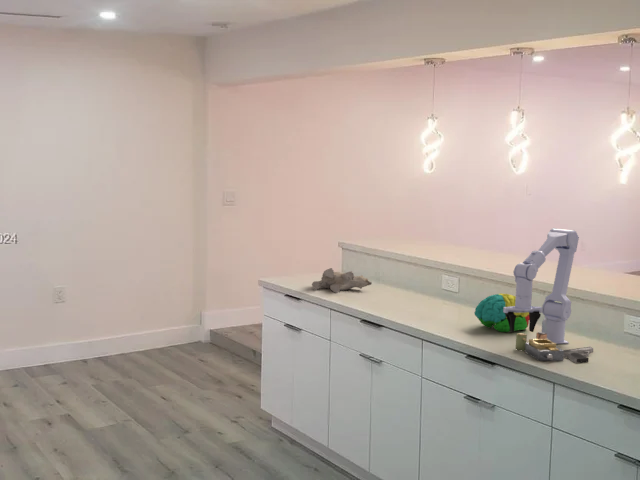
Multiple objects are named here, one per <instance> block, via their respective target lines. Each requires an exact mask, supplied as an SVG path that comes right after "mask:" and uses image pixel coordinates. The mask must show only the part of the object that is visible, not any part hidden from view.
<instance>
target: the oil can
mask: <svg viewBox="0 0 640 480" xmlns="http://www.w3.org/2000/svg"><path fill="white" fill-rule="evenodd" d="M515 335H516V336H515V350H516V349H517V350H516V351H519V350H522V351H521V352H523V351H524V350H525V343H527V338H528V335H527V334H526V333H523V332H519V333H516V334H515ZM524 352H525V351H524Z"/></svg>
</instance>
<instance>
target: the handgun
mask: <svg viewBox="0 0 640 480" xmlns="http://www.w3.org/2000/svg"><path fill="white" fill-rule="evenodd" d="M562 350H563V351H564V356H563V359H564V358H565V359H568V360H571V361H572V362H573V363H575V364H581V363H588V362H589V355H590V354H592V353H593V352H594V347H593V346H587V347H579V348H577V347H576V348H571V349H569V348H568V349H562Z"/></svg>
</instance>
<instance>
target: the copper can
mask: <svg viewBox="0 0 640 480" xmlns="http://www.w3.org/2000/svg"><path fill="white" fill-rule="evenodd" d="M535 339H547V334H546V333H545V332H542V331H537V332H536V337H535Z"/></svg>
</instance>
